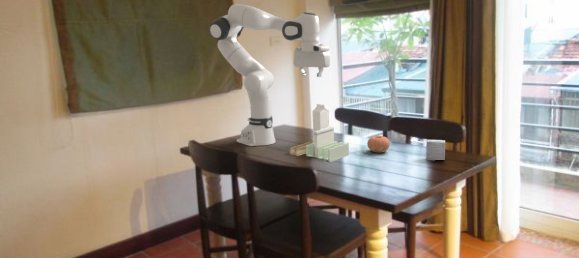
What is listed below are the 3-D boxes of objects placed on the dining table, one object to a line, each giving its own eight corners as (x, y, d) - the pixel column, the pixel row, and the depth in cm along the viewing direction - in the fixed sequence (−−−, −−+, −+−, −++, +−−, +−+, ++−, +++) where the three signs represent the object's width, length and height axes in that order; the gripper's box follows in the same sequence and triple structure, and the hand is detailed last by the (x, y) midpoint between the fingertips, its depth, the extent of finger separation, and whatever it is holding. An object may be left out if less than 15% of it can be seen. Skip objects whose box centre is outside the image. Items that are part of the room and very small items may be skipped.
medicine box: (444, 158, 214) (445, 140, 212) (444, 161, 209) (445, 142, 208) (426, 157, 216) (427, 139, 214) (426, 160, 212) (426, 141, 210)
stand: (288, 155, 228) (288, 147, 227) (309, 148, 239) (309, 141, 238) (297, 157, 224) (297, 149, 223) (319, 150, 235) (318, 142, 234)
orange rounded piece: (380, 147, 237) (380, 132, 235) (394, 152, 227) (394, 136, 226) (362, 151, 232) (362, 135, 230) (376, 155, 222) (376, 139, 221)
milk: (320, 148, 239) (319, 106, 234) (313, 146, 244) (311, 104, 239) (329, 146, 242) (328, 104, 238) (322, 144, 247) (321, 103, 242)
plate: (314, 156, 221) (314, 131, 219) (331, 150, 230) (331, 126, 228) (317, 157, 220) (316, 131, 218) (334, 151, 229) (333, 127, 227)
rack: (306, 157, 223) (305, 145, 222) (325, 150, 234) (325, 139, 233) (329, 162, 214) (329, 149, 213) (348, 155, 225) (348, 142, 224)
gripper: (290, 47, 229) (291, 76, 232) (323, 47, 216) (324, 77, 218) (298, 47, 234) (299, 75, 236) (331, 47, 220) (332, 76, 223)
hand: (311, 76), depth 227 cm, fingers open, 8 cm apart
